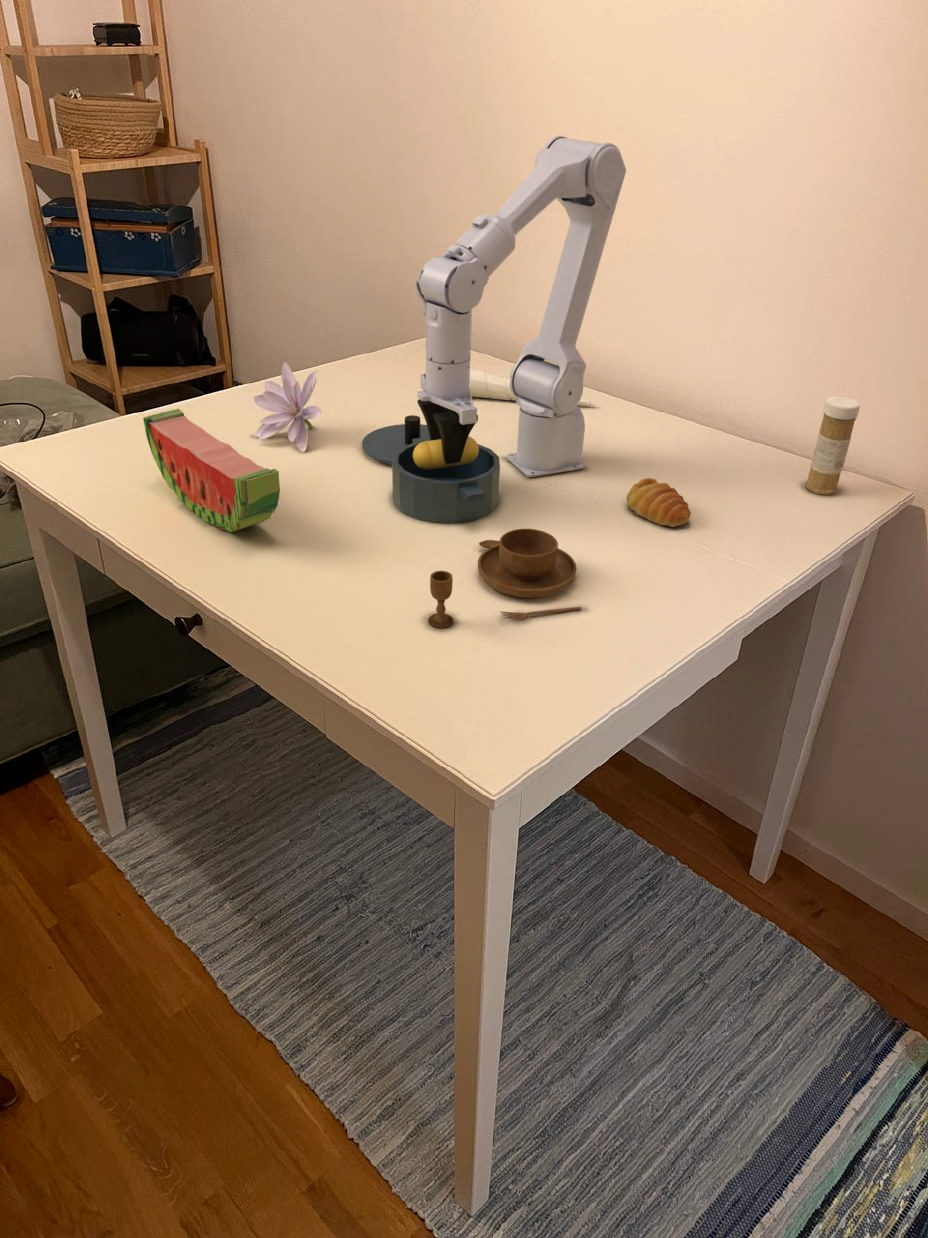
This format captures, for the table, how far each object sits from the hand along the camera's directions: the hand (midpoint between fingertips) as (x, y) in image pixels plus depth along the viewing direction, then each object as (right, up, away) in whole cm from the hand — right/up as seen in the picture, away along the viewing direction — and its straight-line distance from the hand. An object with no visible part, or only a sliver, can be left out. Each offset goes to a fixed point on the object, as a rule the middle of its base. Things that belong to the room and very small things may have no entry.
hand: (446, 456), depth 127 cm
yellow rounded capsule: (0, -1, +1) cm, 1 cm away
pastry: (+29, -8, +2) cm, 30 cm away
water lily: (-25, +6, +21) cm, 33 cm away
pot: (0, -5, +4) cm, 6 cm away
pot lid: (-6, +5, +18) cm, 19 cm away
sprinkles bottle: (+55, -3, +10) cm, 56 cm away
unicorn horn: (+13, +16, +38) cm, 43 cm away
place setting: (+6, -18, -15) cm, 24 cm away
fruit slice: (-31, -8, -1) cm, 32 cm away
